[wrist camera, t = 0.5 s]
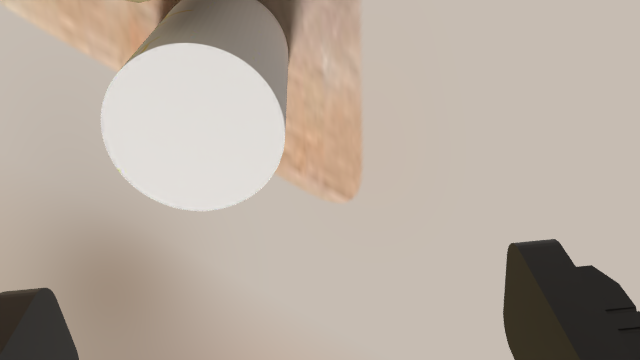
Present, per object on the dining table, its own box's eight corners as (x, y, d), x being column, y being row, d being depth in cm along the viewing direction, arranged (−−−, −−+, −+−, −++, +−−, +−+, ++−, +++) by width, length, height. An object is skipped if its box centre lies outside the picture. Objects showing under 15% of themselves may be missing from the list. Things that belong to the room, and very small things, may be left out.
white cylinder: (166, -27, 35) (109, 22, 24) (301, 7, 36) (303, 68, 25) (149, 101, 39) (93, 191, 28) (273, 128, 40) (264, 225, 29)
